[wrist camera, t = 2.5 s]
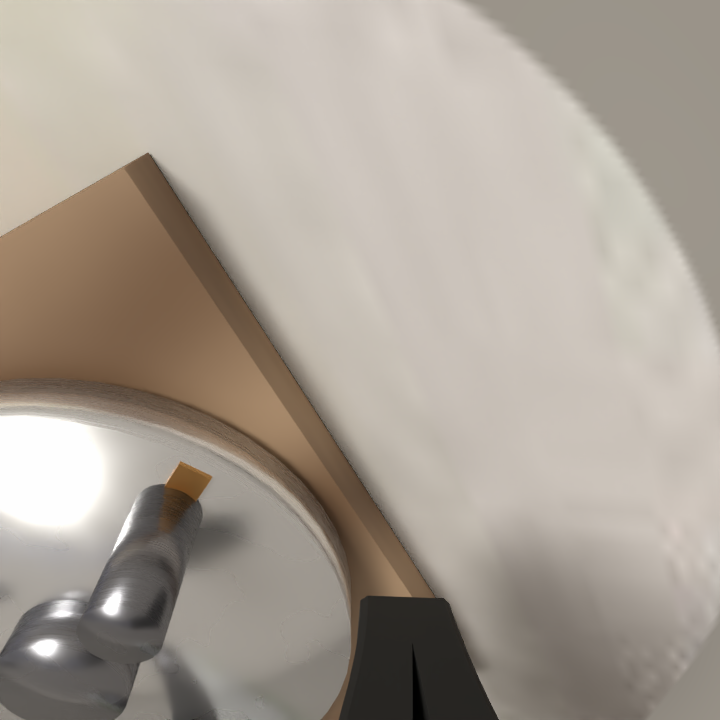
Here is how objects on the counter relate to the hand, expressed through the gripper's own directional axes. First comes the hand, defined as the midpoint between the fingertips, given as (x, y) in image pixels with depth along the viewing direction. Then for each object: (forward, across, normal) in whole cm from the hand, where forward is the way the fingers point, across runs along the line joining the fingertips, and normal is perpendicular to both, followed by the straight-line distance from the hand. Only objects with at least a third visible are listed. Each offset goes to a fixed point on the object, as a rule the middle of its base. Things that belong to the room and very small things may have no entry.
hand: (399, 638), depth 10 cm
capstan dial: (+5, +7, +5) cm, 10 cm away
